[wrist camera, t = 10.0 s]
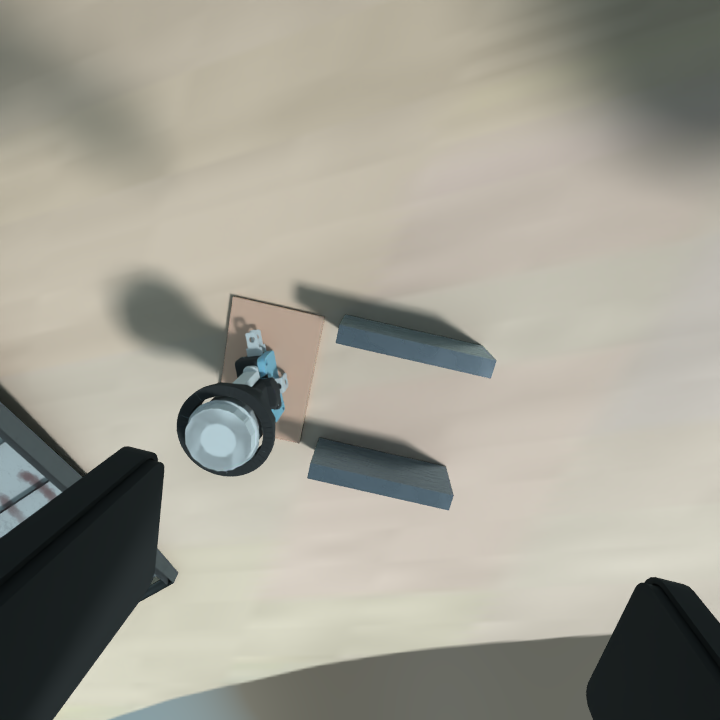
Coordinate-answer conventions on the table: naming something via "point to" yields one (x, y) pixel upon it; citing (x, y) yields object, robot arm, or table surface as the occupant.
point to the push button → (235, 415)
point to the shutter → (42, 483)
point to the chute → (383, 468)
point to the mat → (278, 353)
